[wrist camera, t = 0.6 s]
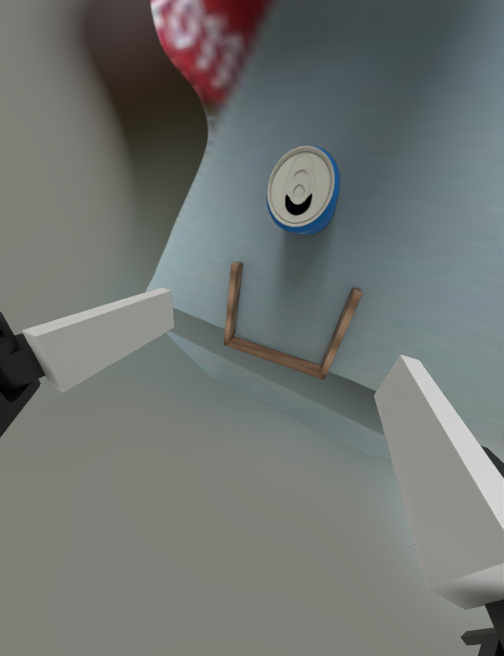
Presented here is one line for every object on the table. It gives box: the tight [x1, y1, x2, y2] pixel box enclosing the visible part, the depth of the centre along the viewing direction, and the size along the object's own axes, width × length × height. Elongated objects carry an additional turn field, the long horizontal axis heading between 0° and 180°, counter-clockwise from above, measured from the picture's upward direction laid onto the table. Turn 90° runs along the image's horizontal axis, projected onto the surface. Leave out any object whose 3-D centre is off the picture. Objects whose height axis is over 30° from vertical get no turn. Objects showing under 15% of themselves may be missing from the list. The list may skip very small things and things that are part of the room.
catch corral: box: [224, 262, 362, 379], centre depth 33 cm, size 16×20×2 cm
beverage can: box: [267, 146, 340, 235], centre depth 21 cm, size 6×6×12 cm
